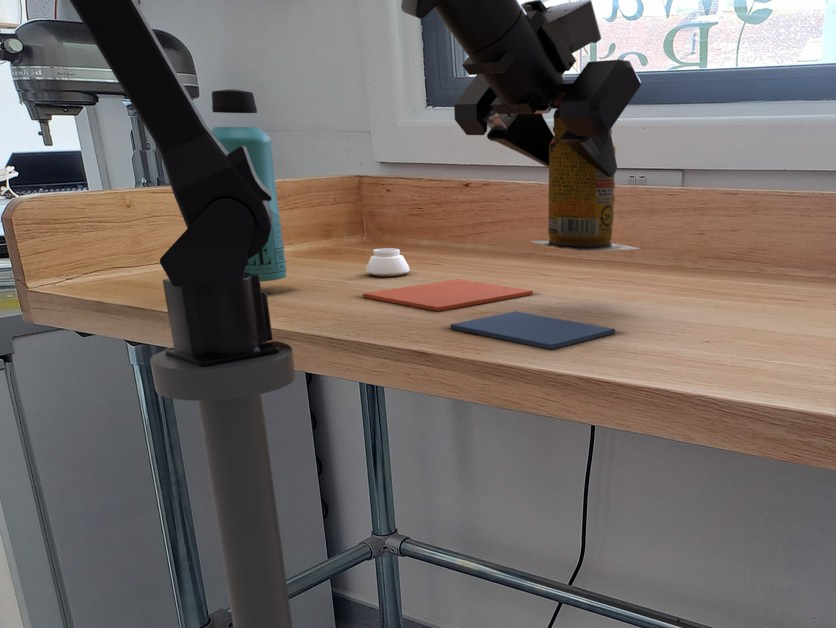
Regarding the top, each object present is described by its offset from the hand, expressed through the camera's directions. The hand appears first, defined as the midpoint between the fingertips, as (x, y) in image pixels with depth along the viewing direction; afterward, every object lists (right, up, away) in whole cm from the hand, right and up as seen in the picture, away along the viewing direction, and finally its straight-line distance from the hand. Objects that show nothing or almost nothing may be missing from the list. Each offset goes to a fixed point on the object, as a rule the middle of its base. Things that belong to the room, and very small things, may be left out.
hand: (589, 172), depth 79 cm
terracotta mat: (-15, -9, +11) cm, 21 cm away
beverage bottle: (-36, -9, +13) cm, 39 cm away
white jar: (-25, -5, +25) cm, 35 cm away
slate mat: (-5, -15, -6) cm, 17 cm away
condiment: (-1, -7, +1) cm, 7 cm away
